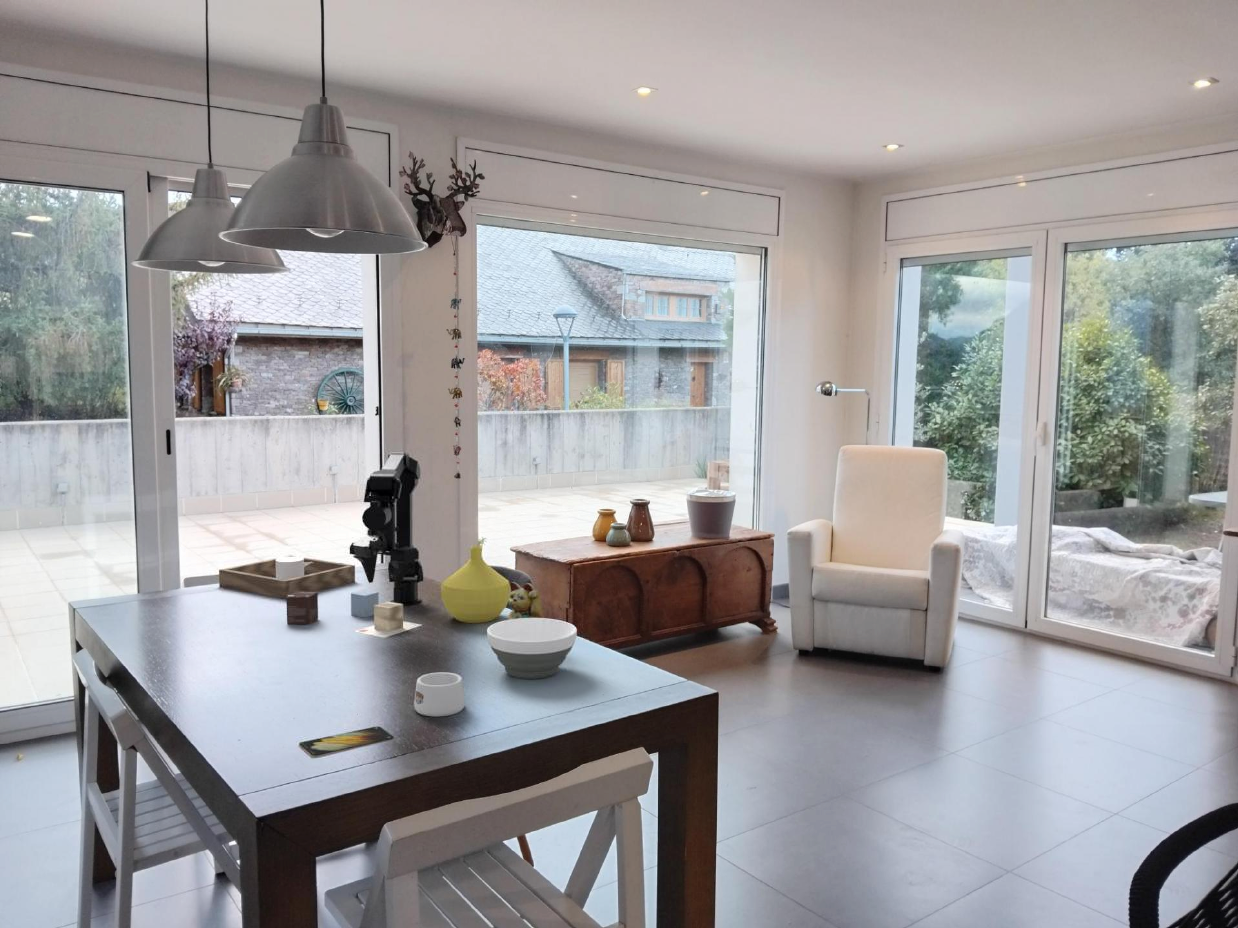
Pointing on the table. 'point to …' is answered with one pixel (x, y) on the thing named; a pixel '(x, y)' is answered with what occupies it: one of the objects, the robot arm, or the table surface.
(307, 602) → the box
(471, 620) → the vase
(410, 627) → the letter
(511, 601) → the decorative figurine
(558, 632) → the bowl
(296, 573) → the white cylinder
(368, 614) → the cube
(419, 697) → the mug
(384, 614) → the block
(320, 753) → the smartphone
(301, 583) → the wooden tray
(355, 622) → the table surface
